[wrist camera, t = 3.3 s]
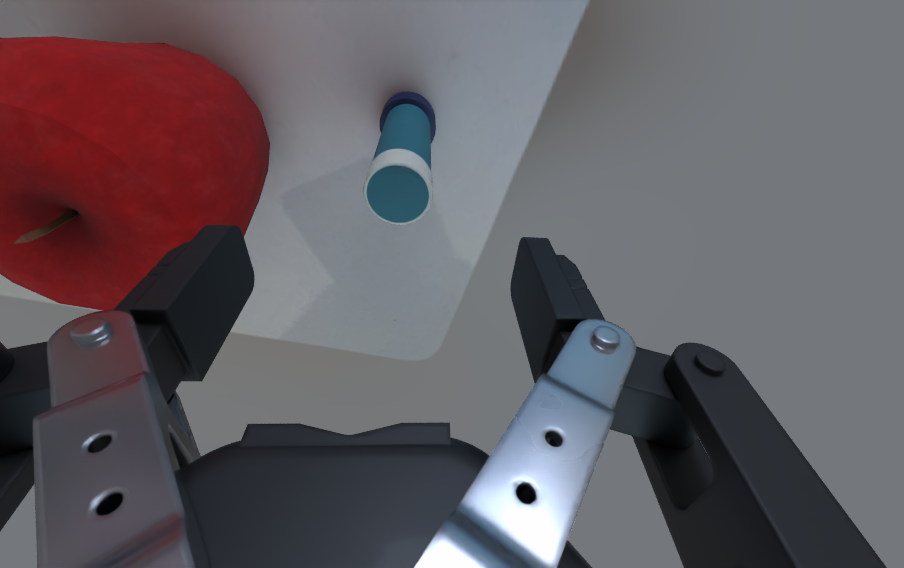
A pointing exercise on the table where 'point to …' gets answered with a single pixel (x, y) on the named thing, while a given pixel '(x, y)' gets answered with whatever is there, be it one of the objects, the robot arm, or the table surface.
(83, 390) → the robot arm
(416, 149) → the dot marker
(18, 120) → the apple
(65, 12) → the table surface
